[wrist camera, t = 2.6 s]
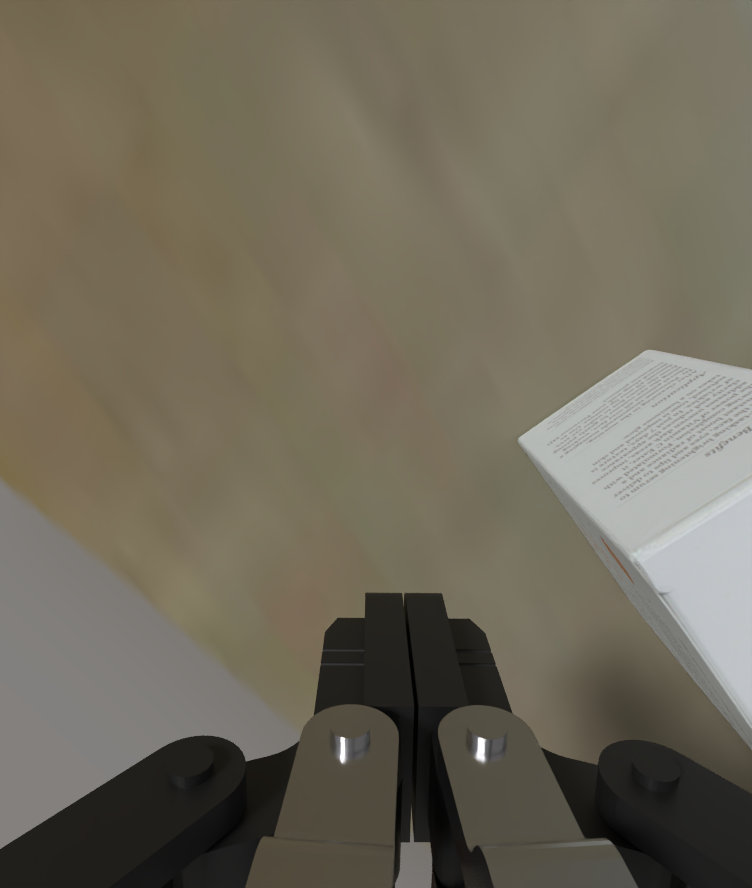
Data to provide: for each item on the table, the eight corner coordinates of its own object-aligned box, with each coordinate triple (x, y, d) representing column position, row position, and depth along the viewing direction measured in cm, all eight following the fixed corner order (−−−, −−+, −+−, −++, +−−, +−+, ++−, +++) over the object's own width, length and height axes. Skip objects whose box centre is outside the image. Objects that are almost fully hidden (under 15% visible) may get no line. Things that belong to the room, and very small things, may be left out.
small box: (757, 519, 23) (1069, 704, 13) (626, 602, 24) (820, 838, 13) (647, 341, 21) (900, 387, 11) (510, 435, 22) (630, 560, 12)
